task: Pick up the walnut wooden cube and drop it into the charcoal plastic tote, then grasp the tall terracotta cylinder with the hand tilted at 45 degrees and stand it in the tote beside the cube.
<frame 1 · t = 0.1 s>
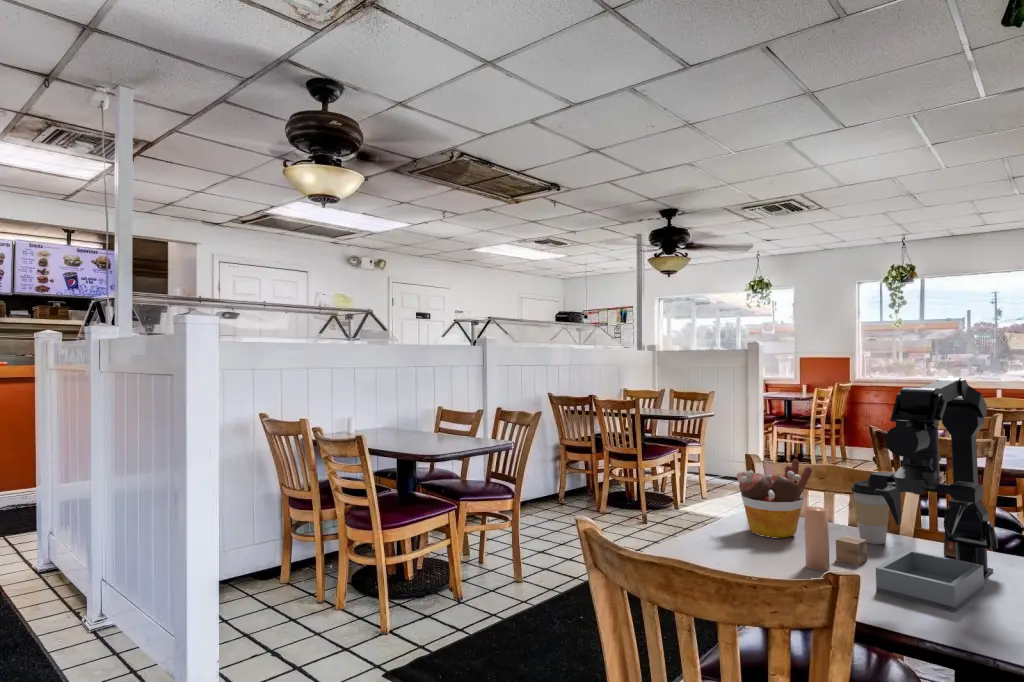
hand: (924, 529, 125), 15 cm above the table, tool pointing down, fingers open, 9 cm apart
tote: (930, 590, 132), on the table
cylinder: (817, 567, 147), on the table
bucket of meat: (773, 533, 175), on the table
coffee cup: (873, 541, 166), on the table
tin: (953, 554, 156), on the table
cube: (851, 560, 151), on the table
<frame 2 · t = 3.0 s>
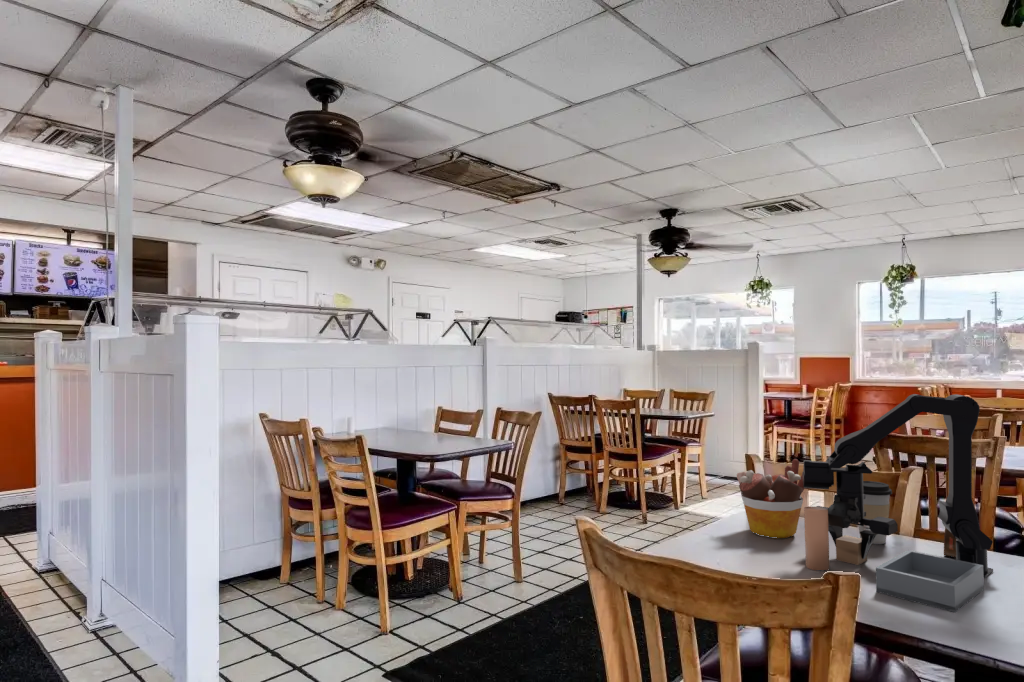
hand: (851, 555, 151), 1 cm above the table, tool pointing down, fingers closed on cube, 5 cm apart
cube: (851, 560, 151), on the table, touching gripper
everything else where it was.
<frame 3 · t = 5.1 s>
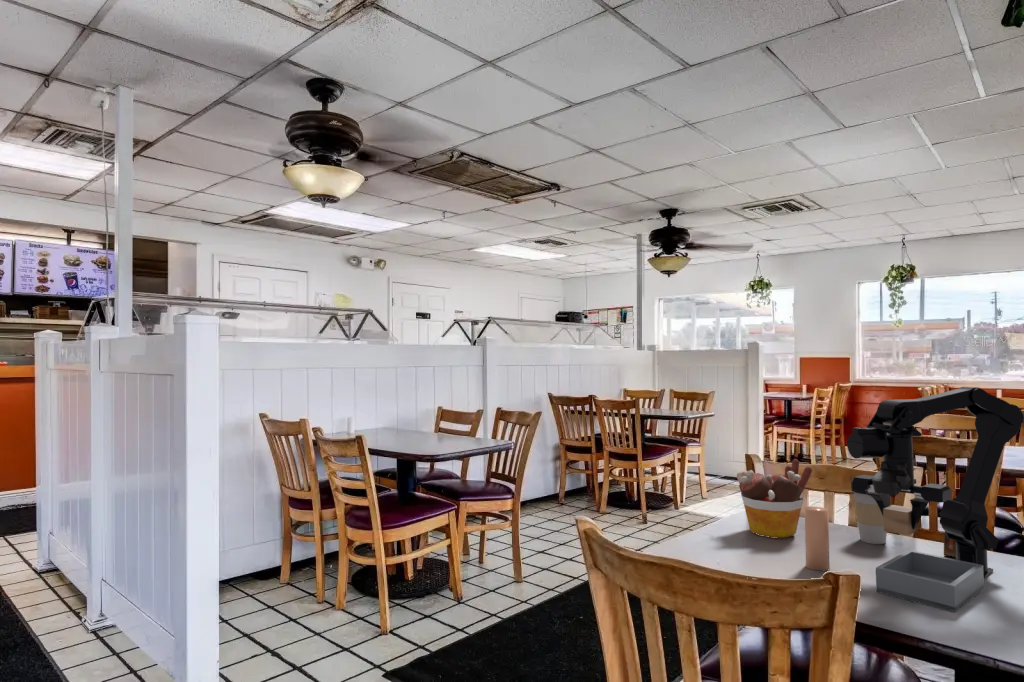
hand: (900, 526, 141), 11 cm above the table, tool pointing down, fingers closed on cube, 5 cm apart
cube: (900, 530, 141), point 10 cm above the table, touching gripper
everything else where it was.
when the fingers open (5 cm above the table, at t = 7.1 s): cube drops 3 cm, resting on tote.
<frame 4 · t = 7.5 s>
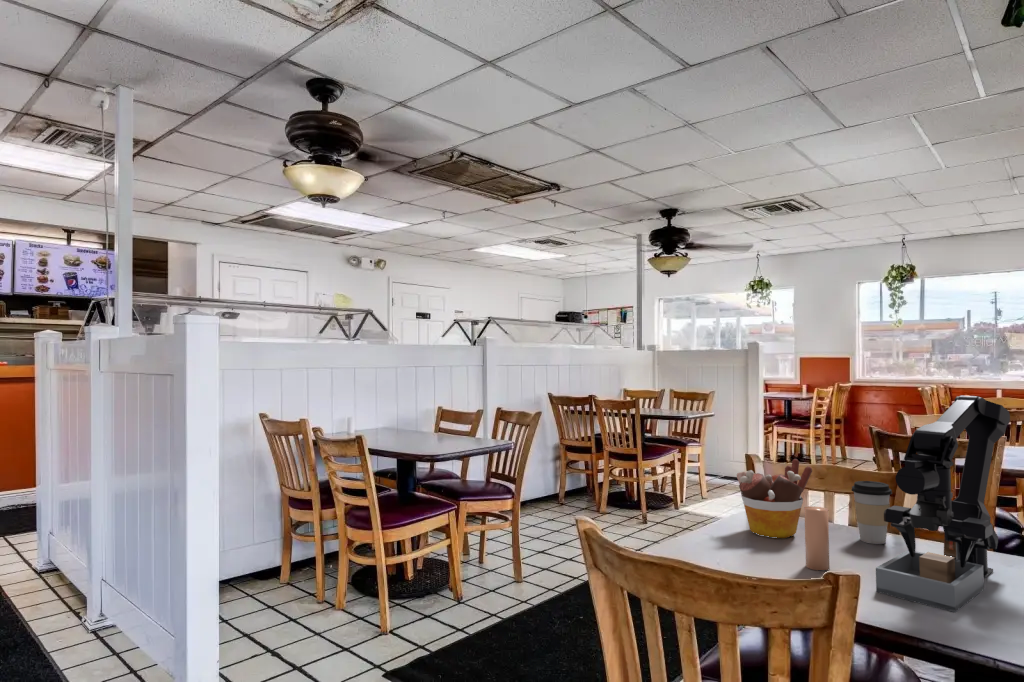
hand: (937, 561, 135), 5 cm above the table, tool pointing down, fingers open, 9 cm apart
cube: (937, 580, 134), point 1 cm above the table, touching tote
everything else where it was.
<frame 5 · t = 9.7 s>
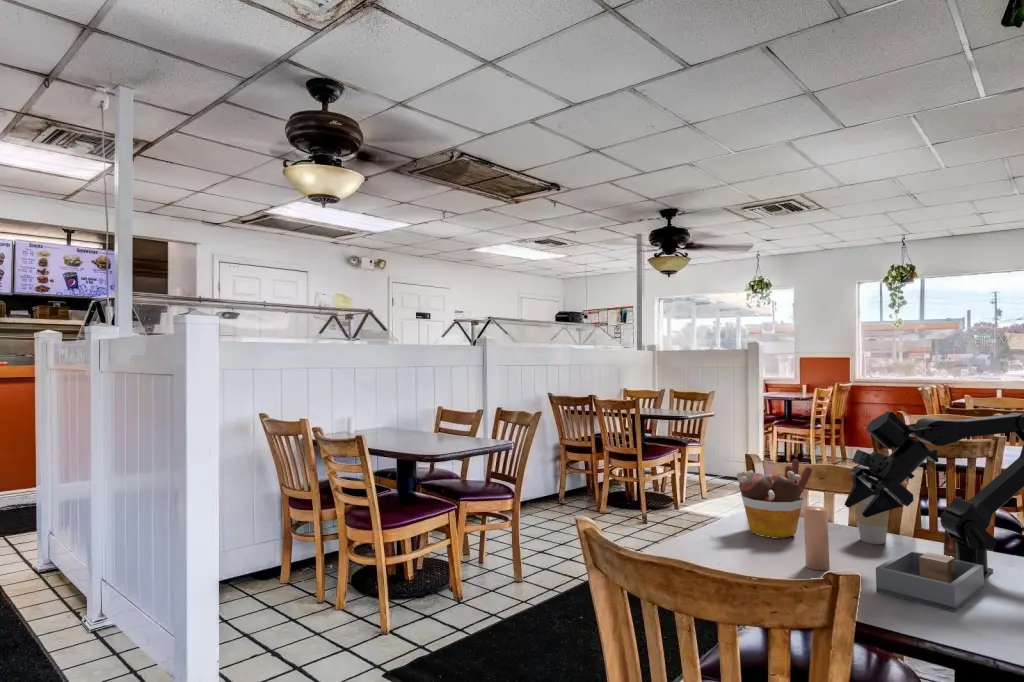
hand: (854, 510, 146), 13 cm above the table, tool tilted 45°, fingers open, 9 cm apart
nothing on the table moved.
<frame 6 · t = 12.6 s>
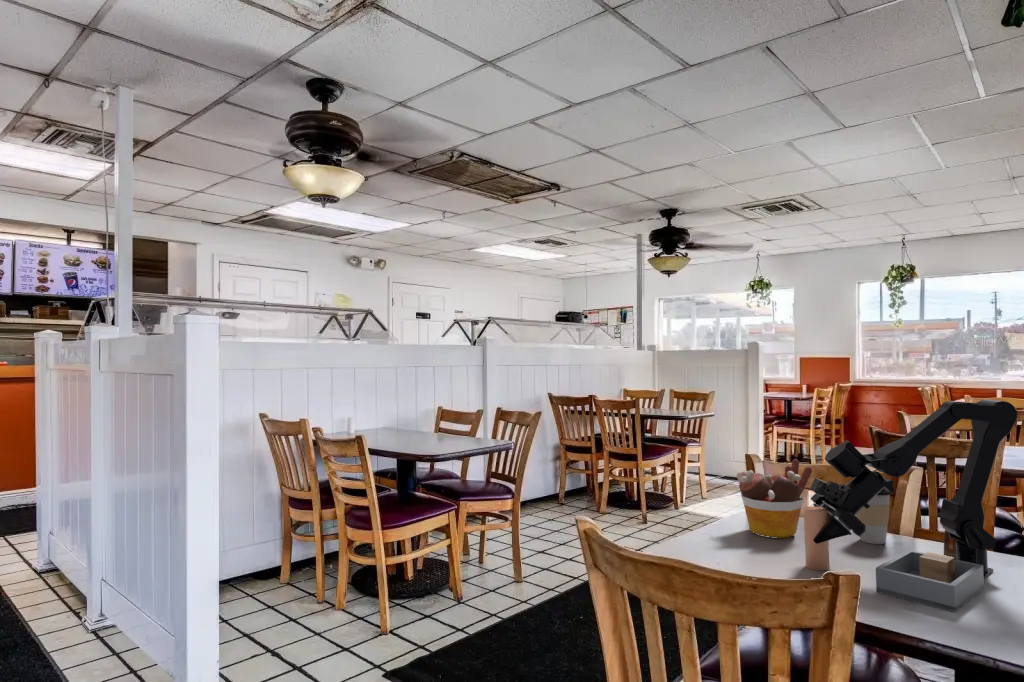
hand: (810, 538, 147), 7 cm above the table, tool tilted 45°, fingers closed on cylinder, 5 cm apart
cylinder: (817, 567, 147), on the table, touching gripper
everything else where it was.
when the fingers open (9 cm above the table, at t = 17.4 s): cylinder drops 2 cm, resting on tote.
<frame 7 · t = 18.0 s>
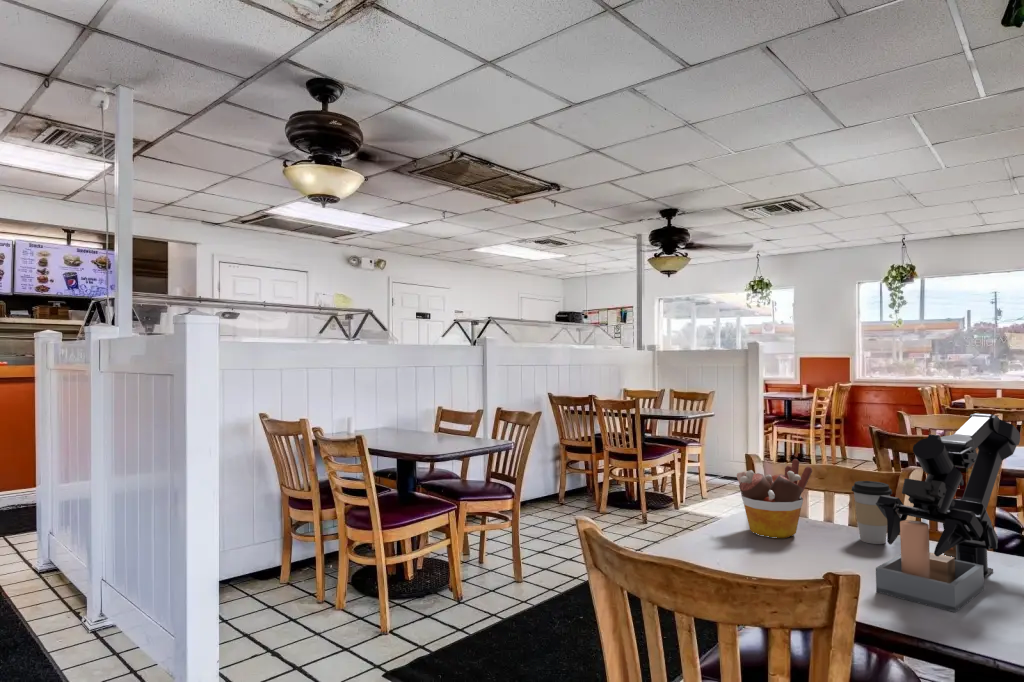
hand: (911, 549, 129), 10 cm above the table, tool tilted 45°, fingers open, 9 cm apart
cylinder: (916, 589, 130), point 1 cm above the table, touching tote
everything else where it was.
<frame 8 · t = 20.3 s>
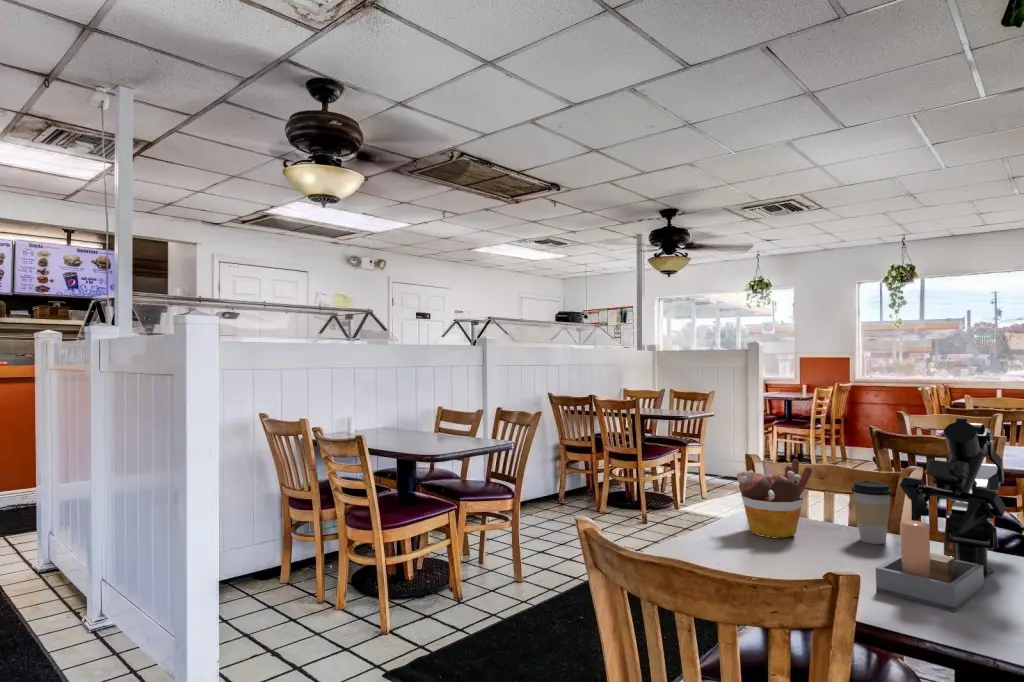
hand: (935, 527, 134), 13 cm above the table, tool tilted 45°, fingers open, 9 cm apart
nothing on the table moved.
at the end: cube inside the target area on the tote (4.4 cm from its centre), point 1.0 cm above the tote's base; cylinder inside the target area on the tote (4.5 cm from its centre), point 1.1 cm above the tote's base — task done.
